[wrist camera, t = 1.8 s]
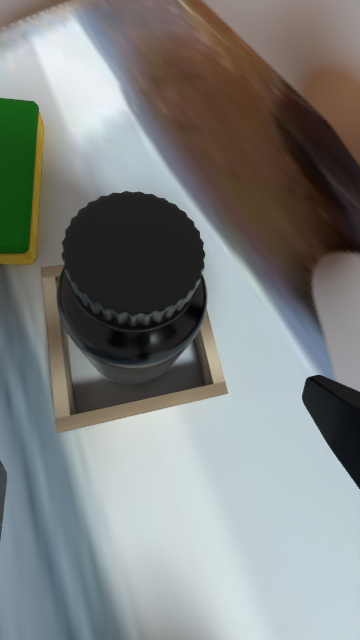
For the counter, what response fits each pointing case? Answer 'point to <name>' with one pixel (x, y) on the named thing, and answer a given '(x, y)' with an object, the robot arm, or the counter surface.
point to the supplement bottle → (132, 285)
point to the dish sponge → (19, 179)
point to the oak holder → (71, 420)
